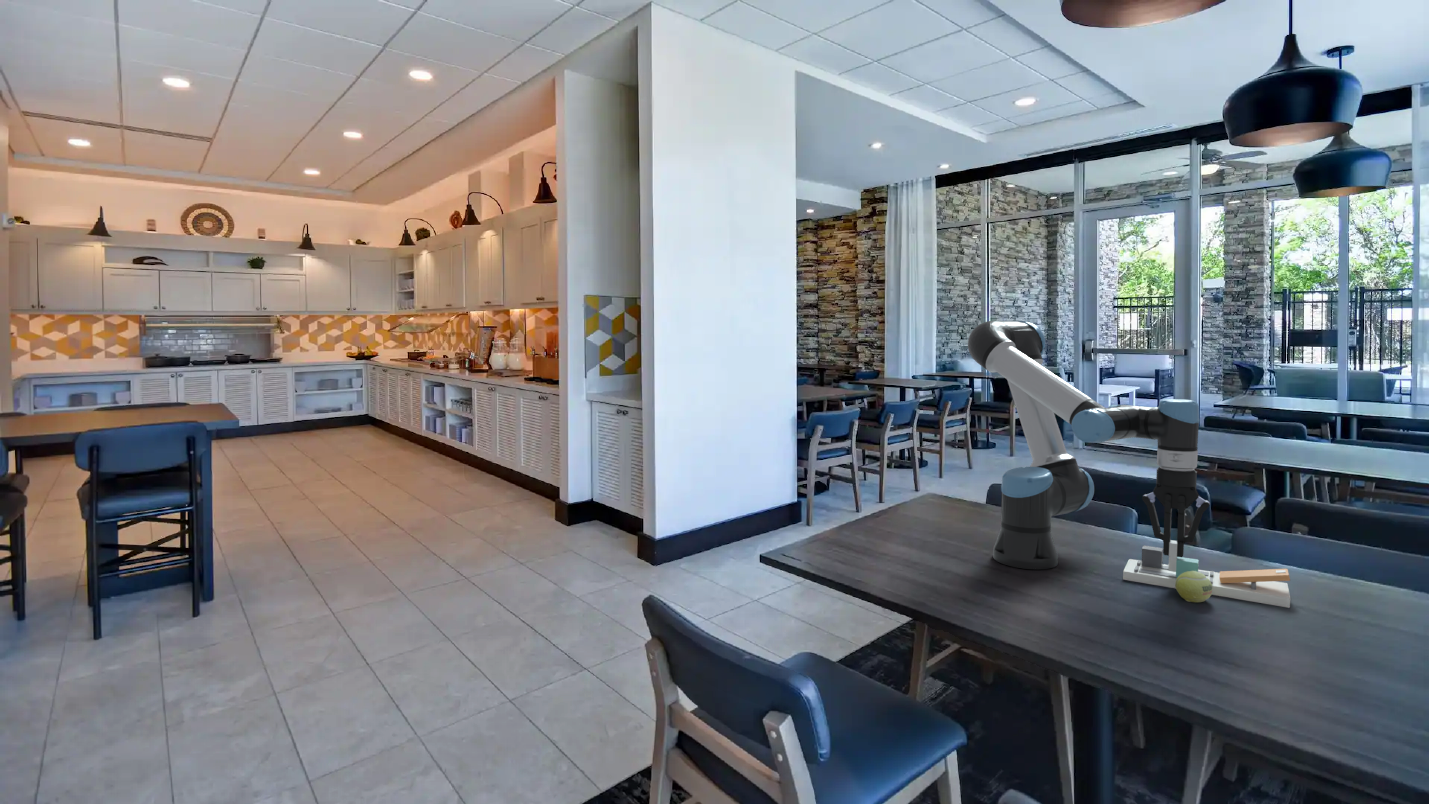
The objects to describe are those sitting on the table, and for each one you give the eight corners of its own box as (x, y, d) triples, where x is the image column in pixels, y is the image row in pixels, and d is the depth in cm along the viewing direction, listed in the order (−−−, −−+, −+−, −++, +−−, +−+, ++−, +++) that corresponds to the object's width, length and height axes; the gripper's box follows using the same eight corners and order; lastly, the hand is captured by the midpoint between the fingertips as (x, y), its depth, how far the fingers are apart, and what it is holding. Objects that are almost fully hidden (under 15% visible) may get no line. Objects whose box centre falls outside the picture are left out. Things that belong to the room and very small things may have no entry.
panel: (1122, 579, 160) (1123, 565, 160) (1128, 566, 169) (1129, 553, 168) (1289, 607, 142) (1290, 592, 141) (1286, 592, 150) (1287, 577, 150)
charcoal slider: (1141, 564, 163) (1142, 548, 163) (1142, 561, 165) (1143, 545, 165) (1161, 568, 161) (1162, 551, 160) (1162, 564, 163) (1163, 548, 163)
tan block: (1220, 583, 151) (1219, 577, 151) (1221, 576, 155) (1219, 570, 155) (1290, 580, 143) (1288, 574, 143) (1288, 574, 147) (1287, 567, 147)
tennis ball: (1201, 576, 142) (1216, 569, 146) (1166, 572, 148) (1181, 566, 152) (1205, 607, 142) (1219, 599, 146) (1170, 601, 148) (1185, 594, 151)
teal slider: (1175, 577, 154) (1176, 559, 154) (1176, 573, 157) (1177, 556, 156) (1197, 580, 152) (1198, 563, 152) (1198, 576, 154) (1198, 559, 154)
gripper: (1140, 467, 155) (1137, 569, 157) (1211, 473, 147) (1207, 580, 149) (1144, 462, 161) (1141, 560, 163) (1212, 468, 153) (1208, 570, 155)
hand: (1172, 569), depth 156 cm, fingers closed
